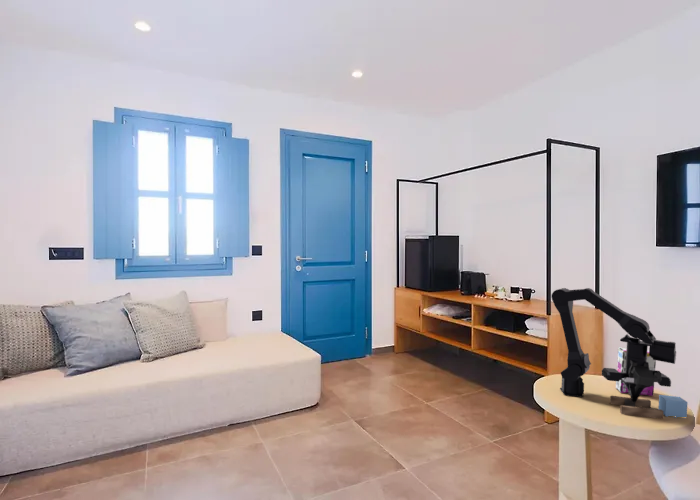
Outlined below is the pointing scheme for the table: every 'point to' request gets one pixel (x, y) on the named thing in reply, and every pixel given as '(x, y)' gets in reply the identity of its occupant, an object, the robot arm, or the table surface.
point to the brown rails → (636, 407)
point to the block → (673, 406)
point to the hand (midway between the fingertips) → (633, 401)
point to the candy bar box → (620, 368)
